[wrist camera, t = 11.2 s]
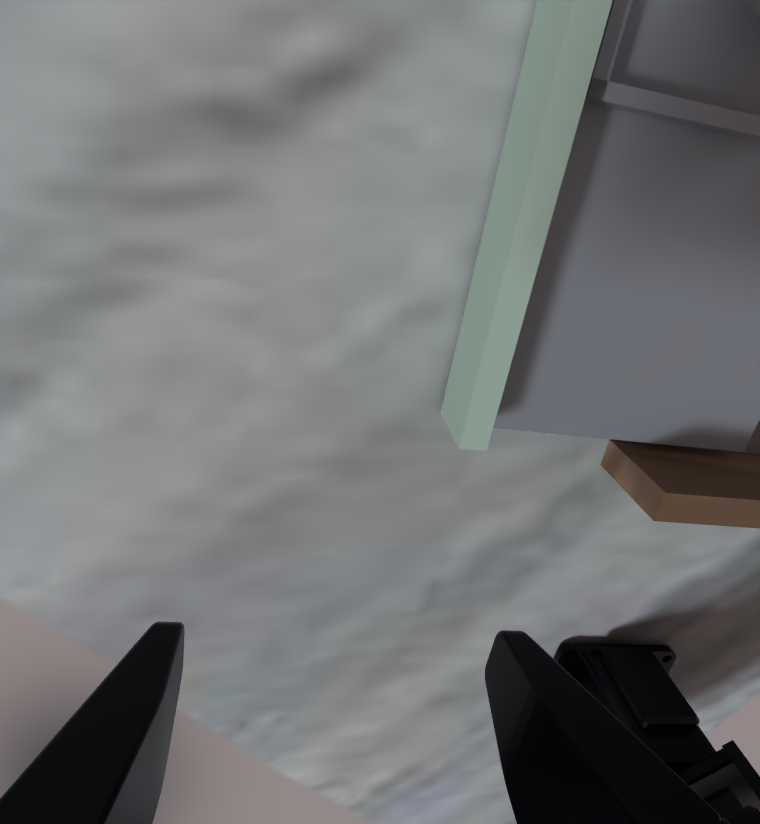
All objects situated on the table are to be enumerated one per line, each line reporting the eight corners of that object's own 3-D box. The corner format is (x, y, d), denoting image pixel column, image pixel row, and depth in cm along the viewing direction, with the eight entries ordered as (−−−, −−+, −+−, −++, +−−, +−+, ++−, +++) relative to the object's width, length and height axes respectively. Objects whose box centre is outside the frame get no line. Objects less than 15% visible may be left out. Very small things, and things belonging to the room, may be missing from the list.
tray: (730, 443, 24) (780, 477, 22) (440, 413, 22) (458, 448, 19) (1065, -265, 15) (1214, -343, 13) (642, -449, 13) (725, -591, 10)
